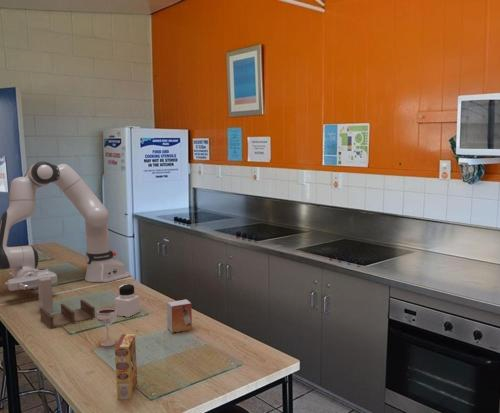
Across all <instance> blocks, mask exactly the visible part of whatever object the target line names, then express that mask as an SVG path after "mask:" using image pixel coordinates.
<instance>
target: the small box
mask: <svg viewBox="0 0 500 413" xmlns="http://www.w3.org/2000/svg"><path fill="white" fill-rule="evenodd" d="M192 310H193V309H192V303H191V302H190V301H189V300H188V299H181V300H174V301H173V300H172V301H167V302H166V315H167V317H166V322H167V326H166V327H167V330H168V329H169V330H170V331H169V330H168V331H169V332H170V333H171V334H174V332H176V333H180V331H182V332H188V331H192V327H193V326H192V324H193V321H192V319H193V318H192V316H193V314H192V312H193V311H192ZM187 330H188V331H187Z"/></svg>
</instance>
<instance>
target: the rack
mask: <svg viewBox="0 0 500 413" xmlns="http://www.w3.org/2000/svg"><path fill="white" fill-rule="evenodd" d="M79 301H80V308H77V309H76V308H75V309H71V308H70V307H69V306H67V305H66V304H65V303H60V313H59V312H58V313H54V314H51V313H48V312H47V311H46V310H45V309H44V308H39V312H40V321H42V322H43V323H44V324H45V325H46V326H47V327H48V328H49V329H51V330H52V329H57V328H60V327H61V328H62V327H63V326H62V325H66V324H70V323H74V324H77V323H76V322H78V323H81V322H80V321H82V322H85V320H87V321H90V320H89V319H91V320H94V319H93V318H95V319H96V310H95V307H94V306H93V305H91V304H90V303H88V302H87V301H86V300H84V299H80V300H79ZM70 325H71V324H70ZM66 326H67V325H66Z"/></svg>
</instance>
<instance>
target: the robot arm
mask: <svg viewBox="0 0 500 413" xmlns="http://www.w3.org/2000/svg"><path fill="white" fill-rule="evenodd" d="M50 183H53V184H55V185H56V186H58V188H59V189H60V190H61V192H62V193H63V194H64V195H65V196H66V198H67V199H68V200H69V201H70V203H71V204H72V205H73V206H74V208H76V210H77V211H78V212H79V213H80V214H81V216H82V217H83V219H84V225H85V226H84V227H85V238H86V241H85V242H86V254H85V260H86V274H85V277H84V280H85V281H87V282H88V283H89V282H90V283H92V282H93V283H109V282H113V281H116V280H120V279H125V278H128V277H131V272H129V271H127V270H126V268H125V265H124V263H123V262H121V261H120V260H119V259H117V258H115V256H117V254H118V253H117V252H116V251H112V250H110V234H109V225H108V222H109V219H110V212H109V210H108V209H107V207H106V206H105V205H104V204H103V203H102V202H101V200H100V199H99V198H98V197H97V196H96V195H95V193H94V191H92V189H91V188H90V187H89V186H88V184H87V183H86V182H85V181H84V180H83V178H82V177H81V176H80V175H79V174H78V173H77V171H75V170H74V169H73V168H72V167H71V166H70V165H68V164H67V163H60V164H58V165H55V164H52V163H50V162H48V161H38V162H36V163H33V164H32V165H31V166H30V167H29V168H28V169H27V170H26V173H25V174H24V176H19V177H15V178H14V179H12V180H11V182H10V189H9V204H8V207H7V209H6V211H4V212H2V214H1V217H0V271H1V270H9V269H11V276H12V278H9V279H8V280H7V281H6V282H4V285H5V286H7V288H8V291H9V292H10V291H18V290H29V289H33V288H36V287H38V278H42V277H49V278H50V279H51V281H52V284H56V283H57V282H58V275H57V274H56V273H55V272H54V271H50V270H49V268H37V267H38V266H39V252H38V251H37V250H36V248H35V247H34V246H32V245H20V246H19V245H18V246H8V245H7V244H8V239H9V233H10V230H11V227H13V225H15V224H18V223H20V222H22V221H25V220H27V219H29V218H30V217H31V216H33V215H34V214H35V212H36V207H37V206H36V205H37V204H36V203H37V202H36V201H37V200H36V199H37V198H36V192H37V189H38V188H41V187H45V186H48V185H49V184H50Z"/></svg>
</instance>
